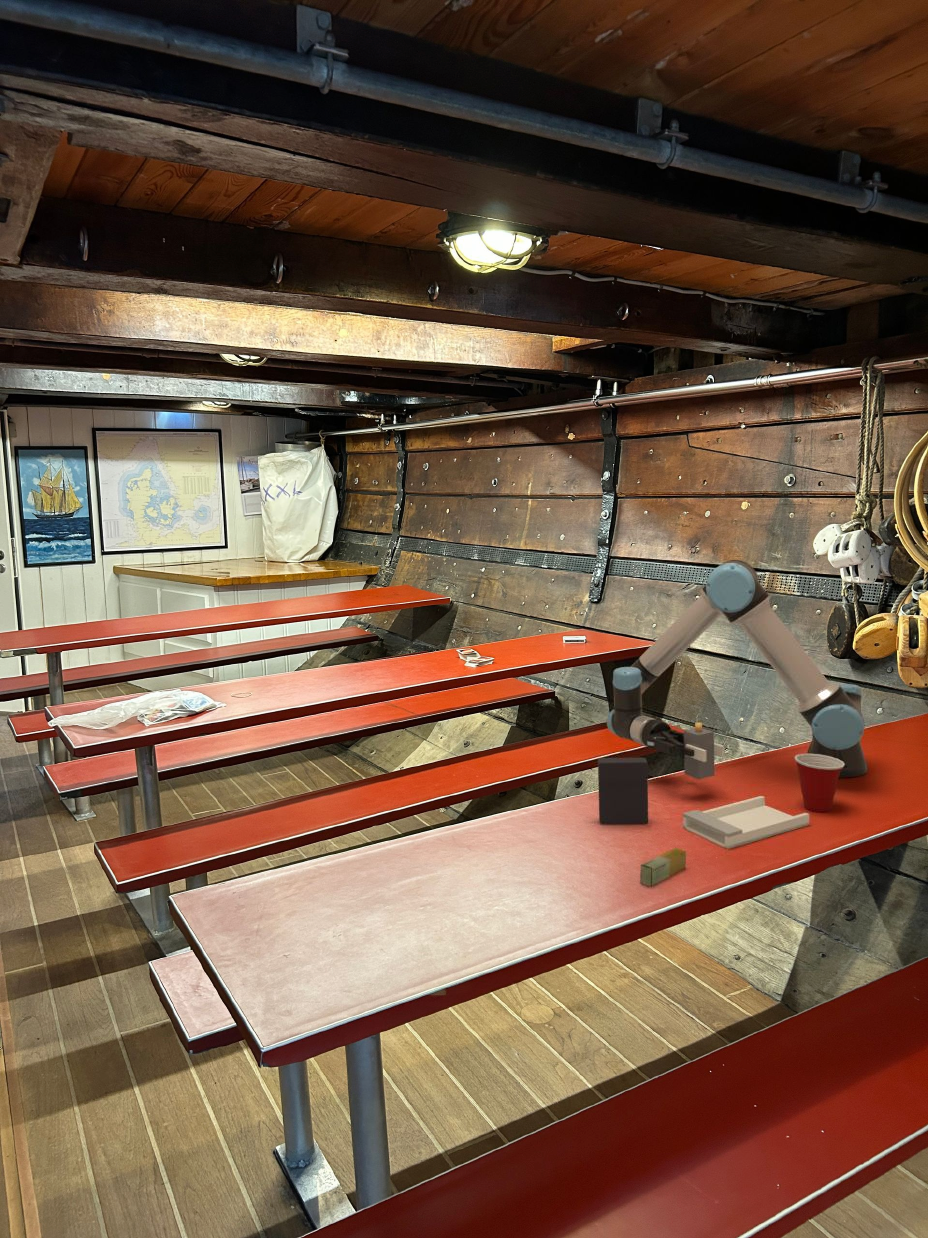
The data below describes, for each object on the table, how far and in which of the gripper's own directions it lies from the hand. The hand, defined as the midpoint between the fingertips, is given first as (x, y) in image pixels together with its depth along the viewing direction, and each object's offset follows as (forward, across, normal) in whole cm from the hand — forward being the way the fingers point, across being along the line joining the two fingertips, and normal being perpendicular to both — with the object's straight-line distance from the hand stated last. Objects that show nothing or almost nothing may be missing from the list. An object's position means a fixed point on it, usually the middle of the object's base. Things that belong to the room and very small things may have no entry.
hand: (714, 754), depth 204 cm
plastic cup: (+15, -18, -13) cm, 27 cm away
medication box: (+23, +35, -13) cm, 44 cm away
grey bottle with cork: (-5, 0, -7) cm, 8 cm away
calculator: (-3, +25, -13) cm, 28 cm away
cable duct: (+14, +4, -13) cm, 19 cm away
